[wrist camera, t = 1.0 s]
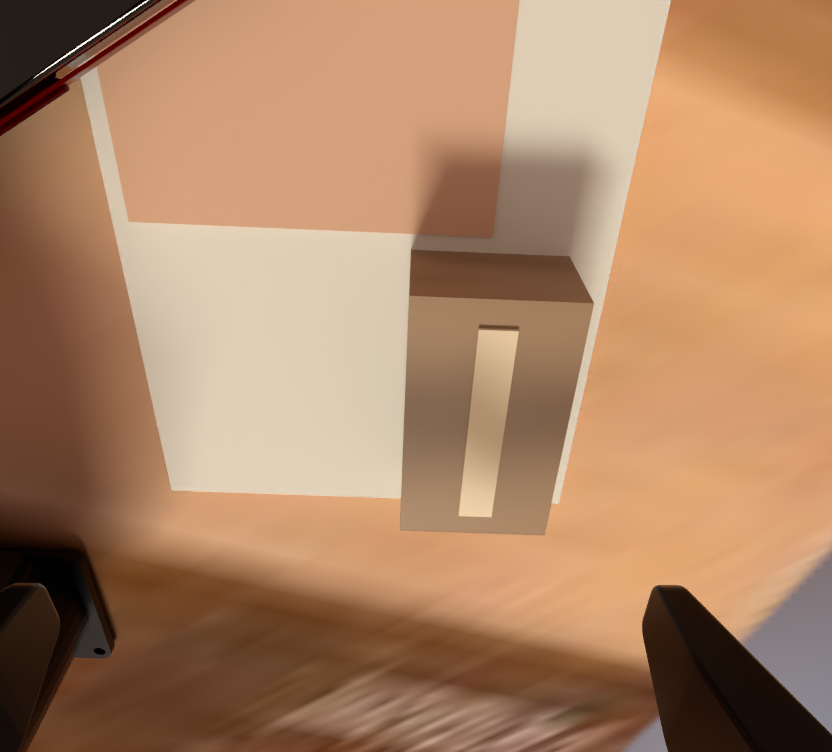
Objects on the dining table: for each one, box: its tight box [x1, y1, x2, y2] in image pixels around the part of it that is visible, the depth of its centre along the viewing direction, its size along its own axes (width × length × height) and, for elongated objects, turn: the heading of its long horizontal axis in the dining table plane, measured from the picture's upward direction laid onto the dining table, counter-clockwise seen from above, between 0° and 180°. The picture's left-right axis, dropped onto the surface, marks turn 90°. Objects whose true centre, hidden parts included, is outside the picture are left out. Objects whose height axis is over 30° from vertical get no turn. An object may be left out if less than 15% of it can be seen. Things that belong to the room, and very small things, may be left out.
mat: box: [78, 0, 671, 504], centre depth 19 cm, size 17×14×1 cm
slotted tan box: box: [400, 250, 594, 535], centre depth 19 cm, size 8×4×3 cm, turn 178°
